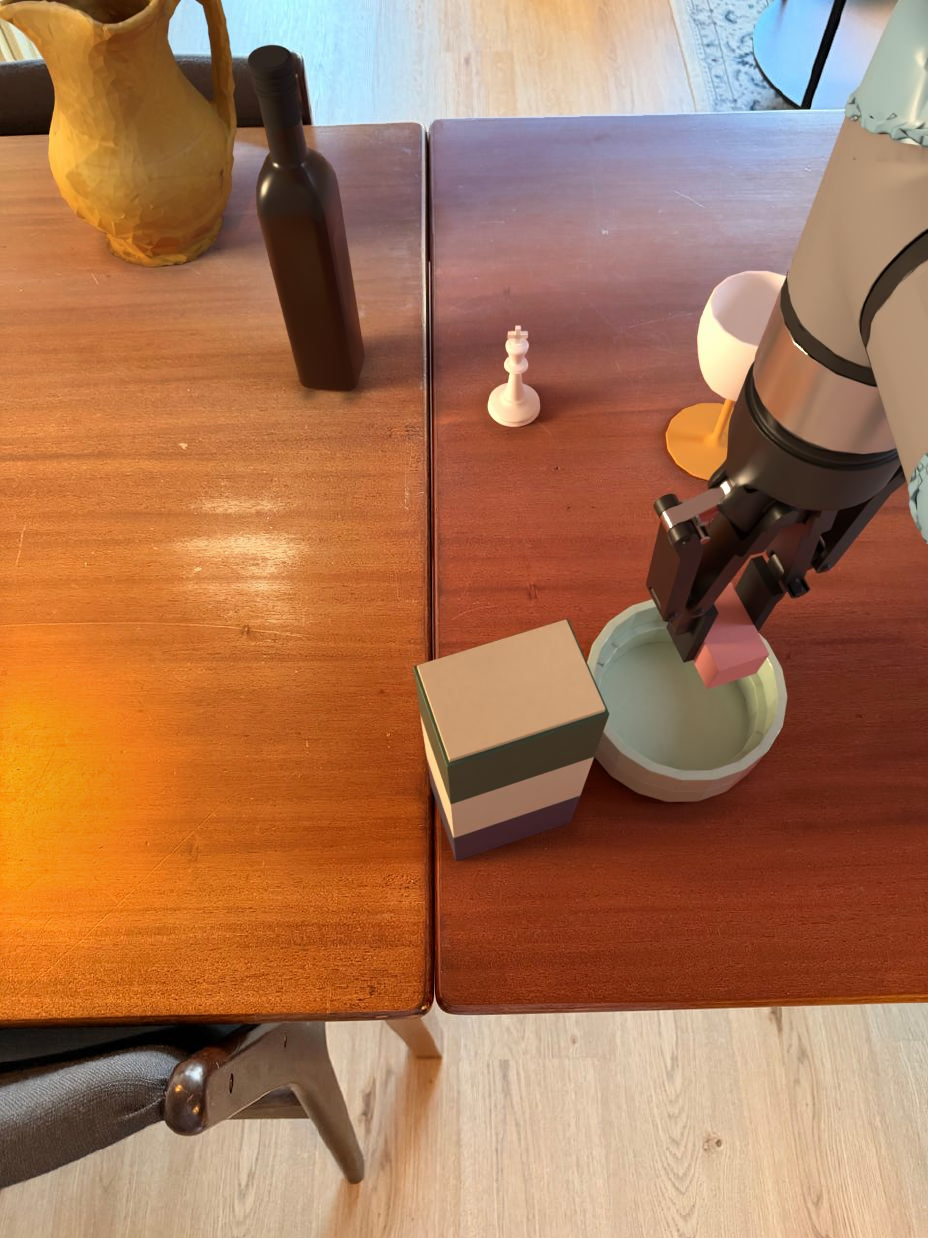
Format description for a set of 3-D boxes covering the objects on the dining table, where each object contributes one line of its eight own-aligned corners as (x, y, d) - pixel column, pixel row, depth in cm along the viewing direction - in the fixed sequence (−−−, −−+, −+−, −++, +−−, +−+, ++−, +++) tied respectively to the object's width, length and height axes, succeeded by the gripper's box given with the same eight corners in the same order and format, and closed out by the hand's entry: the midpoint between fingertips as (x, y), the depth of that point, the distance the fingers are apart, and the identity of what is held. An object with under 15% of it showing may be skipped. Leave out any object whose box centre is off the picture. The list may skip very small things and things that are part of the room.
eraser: (756, 673, 58) (770, 654, 55) (706, 690, 57) (718, 671, 55) (709, 583, 61) (720, 560, 58) (661, 597, 60) (670, 575, 58)
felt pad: (604, 712, 47) (605, 709, 47) (449, 762, 46) (449, 760, 46) (565, 622, 50) (566, 618, 50) (417, 668, 49) (417, 665, 48)
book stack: (570, 822, 67) (610, 714, 47) (455, 861, 66) (446, 767, 46) (542, 749, 70) (567, 618, 50) (430, 785, 68) (412, 665, 49)
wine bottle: (297, 389, 86) (217, 79, 60) (310, 345, 89) (238, 28, 62) (356, 395, 86) (301, 85, 59) (367, 350, 88) (319, 34, 62)
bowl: (796, 769, 69) (823, 742, 63) (621, 829, 67) (633, 807, 61) (713, 610, 75) (731, 574, 70) (550, 661, 73) (556, 628, 68)
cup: (762, 489, 80) (824, 361, 66) (660, 473, 81) (699, 343, 67) (767, 411, 84) (826, 274, 70) (670, 397, 85) (709, 259, 71)
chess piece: (541, 426, 84) (548, 348, 75) (488, 427, 84) (489, 349, 75) (538, 385, 86) (545, 305, 77) (487, 386, 86) (488, 306, 77)
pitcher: (99, 168, 101) (6, -86, 78) (266, 179, 101) (222, -71, 79) (64, 282, 93) (-51, 38, 71) (244, 293, 94) (188, 54, 71)
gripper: (961, 280, 40) (796, 551, 61) (620, 373, 38) (569, 621, 59) (1062, 405, 37) (851, 646, 58) (696, 514, 35) (614, 724, 56)
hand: (709, 633), depth 59 cm, fingers closed on eraser, 3 cm apart
